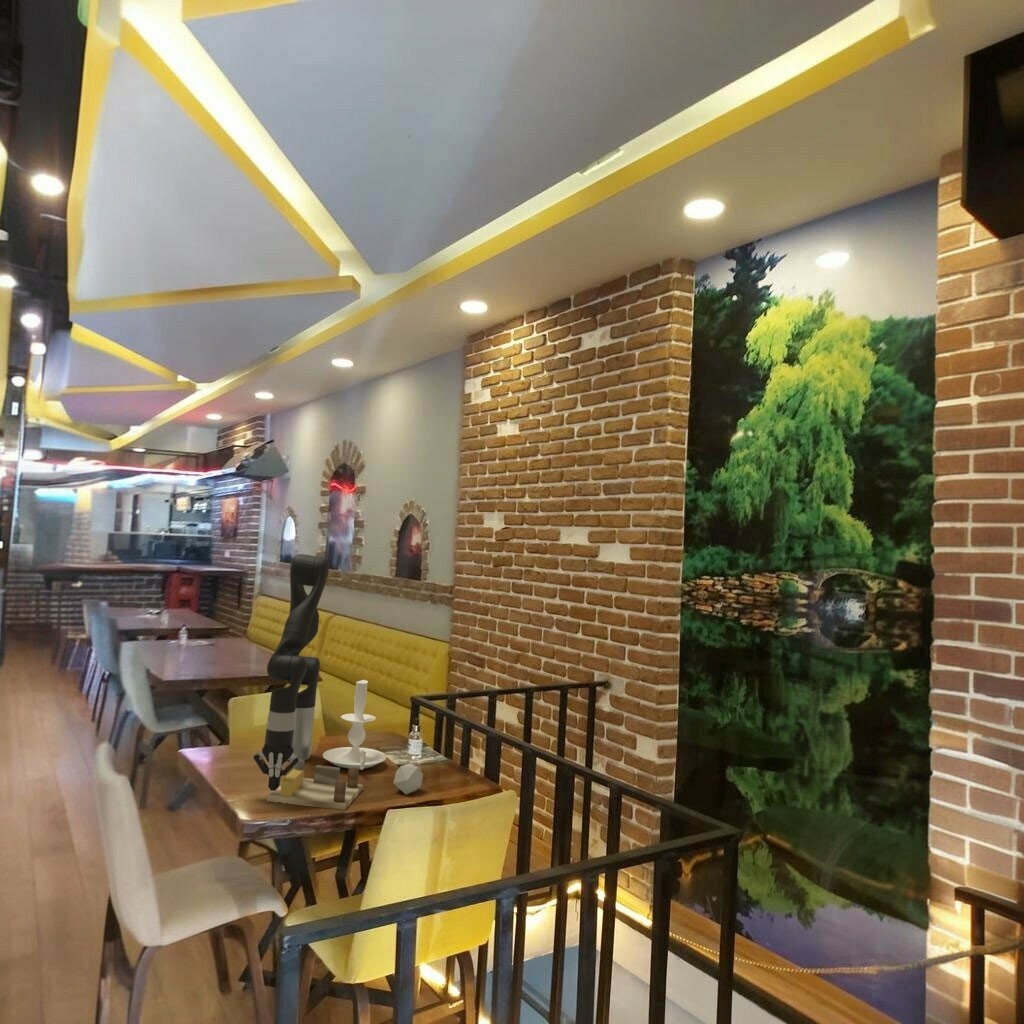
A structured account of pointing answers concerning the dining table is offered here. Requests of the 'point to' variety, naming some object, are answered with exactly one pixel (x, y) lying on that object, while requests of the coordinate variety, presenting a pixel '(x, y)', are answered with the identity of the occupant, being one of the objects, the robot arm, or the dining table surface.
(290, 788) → the bar
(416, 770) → the die
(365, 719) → the candlestick
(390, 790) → the dining table surface
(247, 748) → the dining table surface
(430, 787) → the dining table surface
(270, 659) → the robot arm
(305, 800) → the seat board
